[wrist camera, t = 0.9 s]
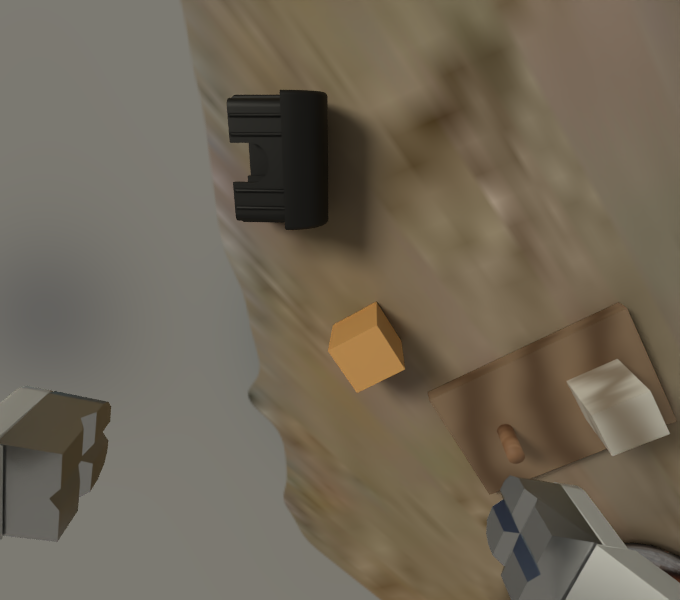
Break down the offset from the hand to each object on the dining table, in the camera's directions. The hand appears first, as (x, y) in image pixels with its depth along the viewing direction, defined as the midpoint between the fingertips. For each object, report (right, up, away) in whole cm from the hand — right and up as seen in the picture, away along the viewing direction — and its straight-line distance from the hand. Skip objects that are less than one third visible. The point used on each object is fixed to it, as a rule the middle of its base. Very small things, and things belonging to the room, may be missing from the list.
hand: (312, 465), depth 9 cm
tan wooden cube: (+3, 0, +36) cm, 36 cm away
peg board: (+22, -7, +38) cm, 44 cm away
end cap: (-4, +16, +31) cm, 35 cm away
